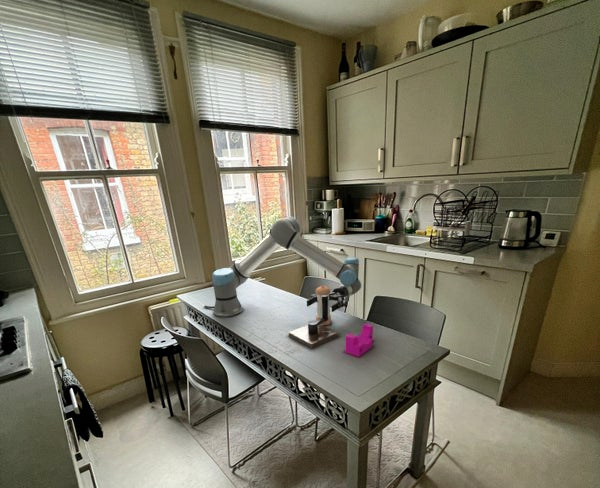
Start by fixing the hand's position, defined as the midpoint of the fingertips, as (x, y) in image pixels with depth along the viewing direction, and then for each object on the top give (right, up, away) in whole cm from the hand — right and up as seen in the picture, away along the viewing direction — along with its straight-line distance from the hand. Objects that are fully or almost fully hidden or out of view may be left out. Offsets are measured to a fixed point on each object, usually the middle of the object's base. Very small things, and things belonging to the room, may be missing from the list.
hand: (319, 306), depth 145 cm
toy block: (+17, -18, -12) cm, 28 cm away
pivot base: (-3, -14, -1) cm, 14 cm away
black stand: (0, -11, +1) cm, 11 cm away
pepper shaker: (+2, +1, +8) cm, 9 cm away
